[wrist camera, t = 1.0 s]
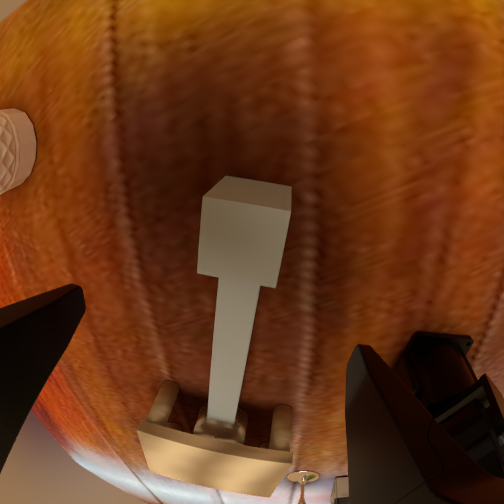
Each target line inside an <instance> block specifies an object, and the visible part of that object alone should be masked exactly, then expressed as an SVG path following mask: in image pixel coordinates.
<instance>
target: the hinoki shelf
mask: <svg viewBox="0 0 504 504" xmlns="http://www.w3.org/2000/svg"><path fill="white" fill-rule="evenodd" d="M179 390H180V388H179V386H178V385H177V384H176V383H174V382H172V381H164V382H163V383H162V385H161V387H160V390H159V392H158V394H157V396H156V398H155V401H154V403H153V405H152V407H151V410H150V412H149V414H148V416H147V419H146V421H144V420H141V422H140V424H139V426H138V428H137V433H138V436H139V439H140V442H141V445H142V448H143V451H144V454H145V457H146V460H147V463H148V466H149V469H150V471H151V472H153V473H156V474H160V475H163V476H166V477H170V478H173V479H177V480H180V481H184V482H188V483H192V484H196V485H200V486H205V487H209V488H214V489H219V490H224V491H229V492H235V493H241V494H247V495H254V496H262V497H270V496H271V495H272V493H273V492H274V490H275V489H276V487H277V486H278V485H279V483H280V482H281V480H282V479H283V477H284V476H285V474H286V473H287V471H288V470H289V468H290V466H291V465H292V459H293V452H290V439H291V423H292V408H291V407H290V406H288V405H284V404H281V405H277V406H275V407H274V409H273V418H272V427H271V436H270V443H262V444H261V445H260V448H257V447H251V446H245V445H239V444H234V443H229V442H224V441H219V440H214V439H210V438H205V437H201V436H197V435H193V434H189V433H185V432H181V430H182V427H181V426H180V425H178V424H176V423H173V422H169V423H167V421H168V418H169V416H170V413H171V411H172V408H173V406H174V403H175V401H176V398H177V395H178V393H179ZM166 423H167V426H166ZM165 426H166V427H165Z"/></svg>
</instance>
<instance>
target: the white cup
mask: <svg viewBox="0 0 504 504" xmlns="http://www.w3.org/2000/svg"><path fill="white" fill-rule="evenodd" d="M35 159H36V137H35V132H34V127H33V124H32V122H31V121H30V119H29V118H28V116H27V114H26V113H25V112H23V111H20V110H18V109H15V108H13V109H3V110H0V195H1V194H2V193H4V192H6V191H8V190H10V189H12V188H14V187H16V186H18V185H20V184H22V183H23V182H24V181H25V180H26V179H27V178H28V176H29V175H30V174H31V171H32V168H33V165H34V162H35Z"/></svg>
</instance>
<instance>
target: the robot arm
mask: <svg viewBox="0 0 504 504" xmlns="http://www.w3.org/2000/svg"><path fill="white" fill-rule="evenodd" d="M85 309H86V305H85V300H84V294H83V289H82V288H81V287H80V286H78V285H75V284H68V285H65V286H62V287H60V288H57V289H54V290H51V291H48V292H45V293H42V294H39V295H36V296H33V297H31V298H28V299H25V300H22V301H19V302H16V303H14V304H11V305H8V306H5V307H2V308H0V473H1V471H2V468H3V466H4V464H5V462H6V459H7V457H8V455H9V453H10V451H11V449H12V446H13V444H14V442H15V440H16V437H17V436H18V434H19V432H20V430H21V428H22V425H23V424H24V422H25V420H26V418H27V416H28V414H29V412H30V410H31V408H32V407H33V405H34V403H35V401H36V399H37V397H38V396H39V394H40V392H41V390H42V388H43V387H44V385H45V383H46V381H47V380H48V378H49V376H50V375H51V373H52V371H53V370H54V368H55V366H56V364H57V363H58V361H59V360H60V358H61V356H62V355H63V353H64V351H65V350H66V348H67V346H68V344H69V342H70V341H71V339H72V337H73V334H74V332H75V330H76V329H77V327H78V325H79V323H80V321H81V319H82V317H83V315H84V313H85ZM418 338H419V339H418ZM472 344H473V340H472V338H471V337H467V336H456V335H445V334H435V333H426V332H417V333H415V334H414V335H413V337H412V339H411V341H410V343H409V344H408V346H407V348H406V350H405V352H404V353H403V355H402V356H401V358H400V359H399V361H398V363H397V365H396V366H395V368H394V370H393V371H392V370H391V368H390V367H389V366H388V365H387V364H386V363H385V362H384V361H383V359H382V358H381V357H380V356H379V355H378V354H377V353H376V352H375V350H374V349H373V348H372V347H371V346H369V345H364V344H358V345H356V347H355V348H354V351H353V353H352V355H351V357H350V359H349V362H348V364H347V372H346V400H345V419H346V435H347V455H348V488H349V504H504V398H503V396H502V394H501V392H500V391H499V390H498V389H497V387H496V386H495V385H494V383H493V382H492V381H491V380H490V378H489V377H488V376H487V375H486V373H485V374H483V375H482V376H481V377H480V379H479V380H477V378H476V375H475V373H474V371H473V369H472V367H471V365H470V363H469V362H468V360H467V358H466V356H465V355H466V354H467V352H468V351H469V349H470V347H471V346H472Z"/></svg>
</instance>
